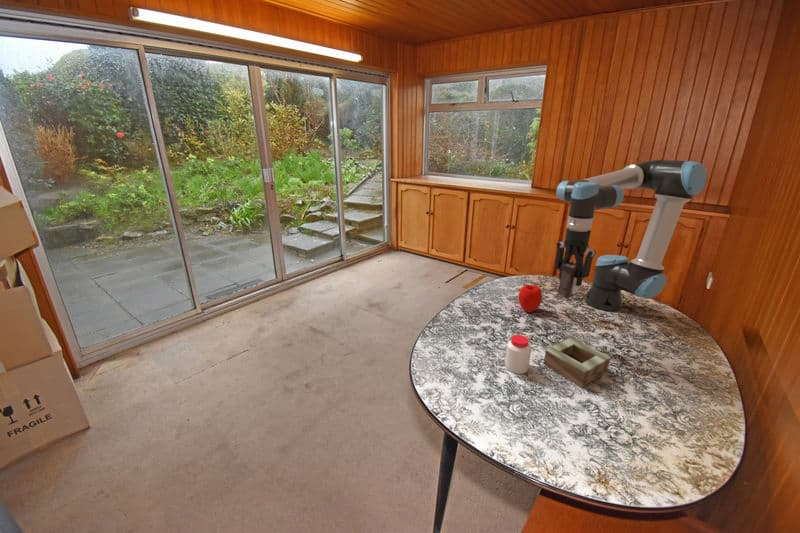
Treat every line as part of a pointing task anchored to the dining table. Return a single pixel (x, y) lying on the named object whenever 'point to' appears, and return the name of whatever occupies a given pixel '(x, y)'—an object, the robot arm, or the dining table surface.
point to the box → (567, 280)
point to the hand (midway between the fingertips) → (568, 290)
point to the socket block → (576, 361)
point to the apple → (530, 297)
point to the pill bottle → (518, 354)
